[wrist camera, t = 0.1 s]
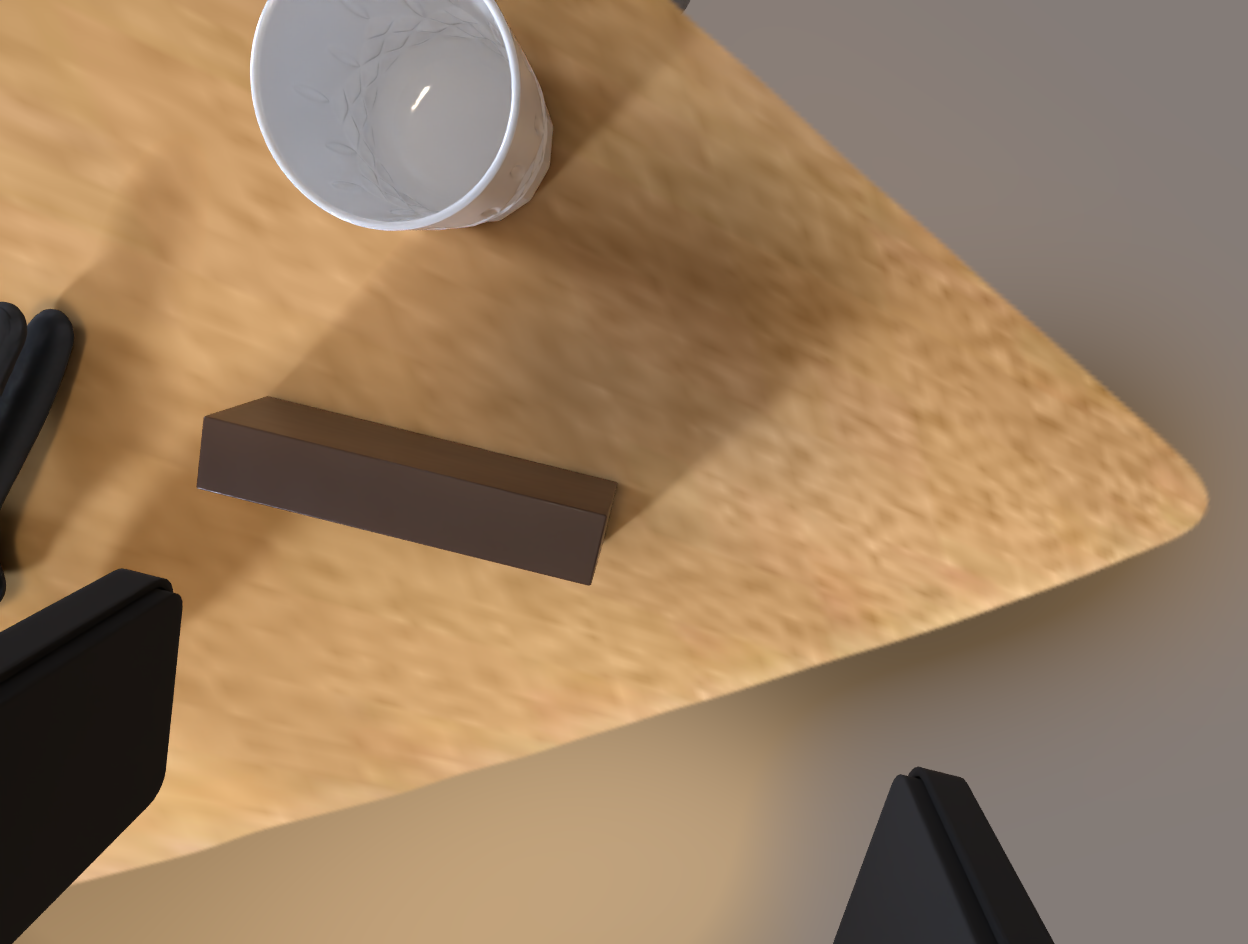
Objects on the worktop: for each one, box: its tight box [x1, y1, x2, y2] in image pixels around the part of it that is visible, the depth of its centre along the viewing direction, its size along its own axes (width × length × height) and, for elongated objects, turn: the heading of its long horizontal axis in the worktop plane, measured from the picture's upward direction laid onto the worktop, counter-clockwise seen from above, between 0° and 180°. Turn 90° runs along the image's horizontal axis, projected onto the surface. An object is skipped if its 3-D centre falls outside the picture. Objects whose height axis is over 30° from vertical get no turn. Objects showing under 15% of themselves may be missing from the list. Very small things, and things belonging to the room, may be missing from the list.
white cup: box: [250, 0, 553, 231], centre depth 28 cm, size 8×8×10 cm
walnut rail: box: [197, 396, 617, 585], centre depth 34 cm, size 3×16×5 cm, turn 77°
